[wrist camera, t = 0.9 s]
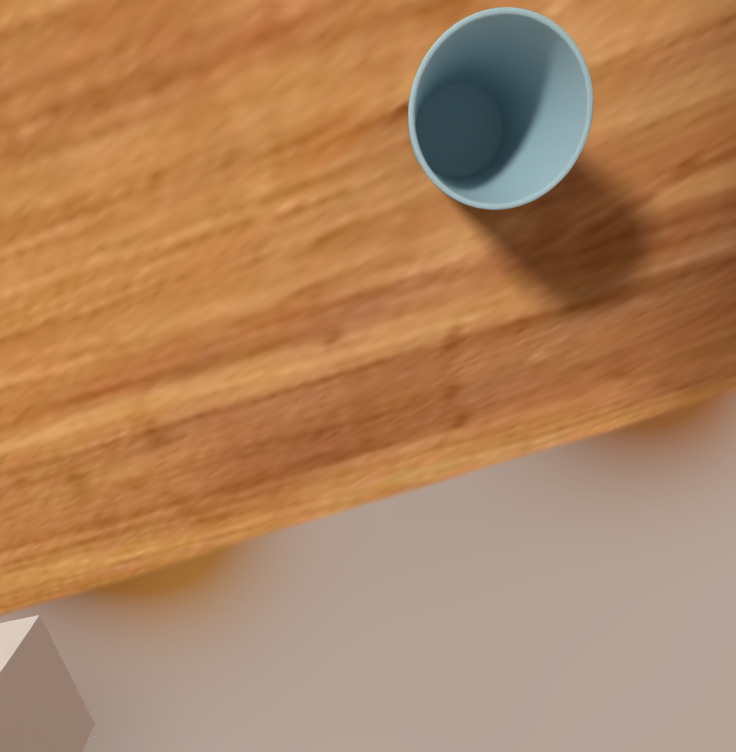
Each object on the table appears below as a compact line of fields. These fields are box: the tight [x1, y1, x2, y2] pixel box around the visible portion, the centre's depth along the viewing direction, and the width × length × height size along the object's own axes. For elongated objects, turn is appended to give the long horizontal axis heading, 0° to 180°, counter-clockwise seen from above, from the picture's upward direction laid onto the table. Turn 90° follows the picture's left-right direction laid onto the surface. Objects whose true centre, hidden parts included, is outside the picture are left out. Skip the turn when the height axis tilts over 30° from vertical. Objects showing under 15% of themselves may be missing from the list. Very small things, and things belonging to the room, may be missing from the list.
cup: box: [408, 7, 593, 210], centre depth 29 cm, size 8×8×10 cm
